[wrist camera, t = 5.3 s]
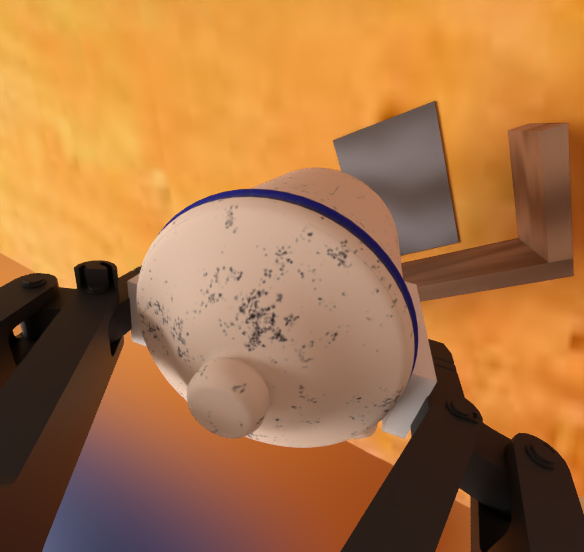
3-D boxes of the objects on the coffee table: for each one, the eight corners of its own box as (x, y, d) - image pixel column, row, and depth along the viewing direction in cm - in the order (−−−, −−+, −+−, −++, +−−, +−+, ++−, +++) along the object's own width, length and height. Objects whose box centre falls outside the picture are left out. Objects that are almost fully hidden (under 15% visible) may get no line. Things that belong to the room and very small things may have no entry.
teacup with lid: (214, 211, 18) (-7, 314, 8) (356, 124, 14) (283, 104, 4) (310, 367, 21) (239, 589, 11) (450, 330, 17) (543, 619, 7)
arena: (309, 149, 30) (293, 154, 25) (525, 66, 24) (565, 48, 18) (351, 286, 35) (346, 313, 30) (538, 248, 29) (573, 275, 24)
